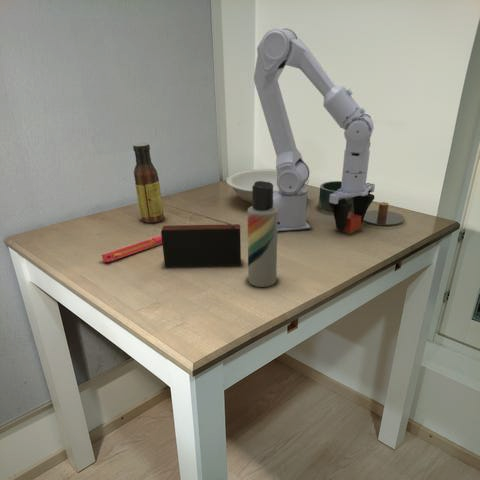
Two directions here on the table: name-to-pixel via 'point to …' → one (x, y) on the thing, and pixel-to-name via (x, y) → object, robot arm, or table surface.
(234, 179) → the soup bowl
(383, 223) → the lid
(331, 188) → the pot
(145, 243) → the long red bar
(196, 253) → the radio
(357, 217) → the block
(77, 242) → the table surface
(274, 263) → the lotion bottle
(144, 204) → the sauce bottle
